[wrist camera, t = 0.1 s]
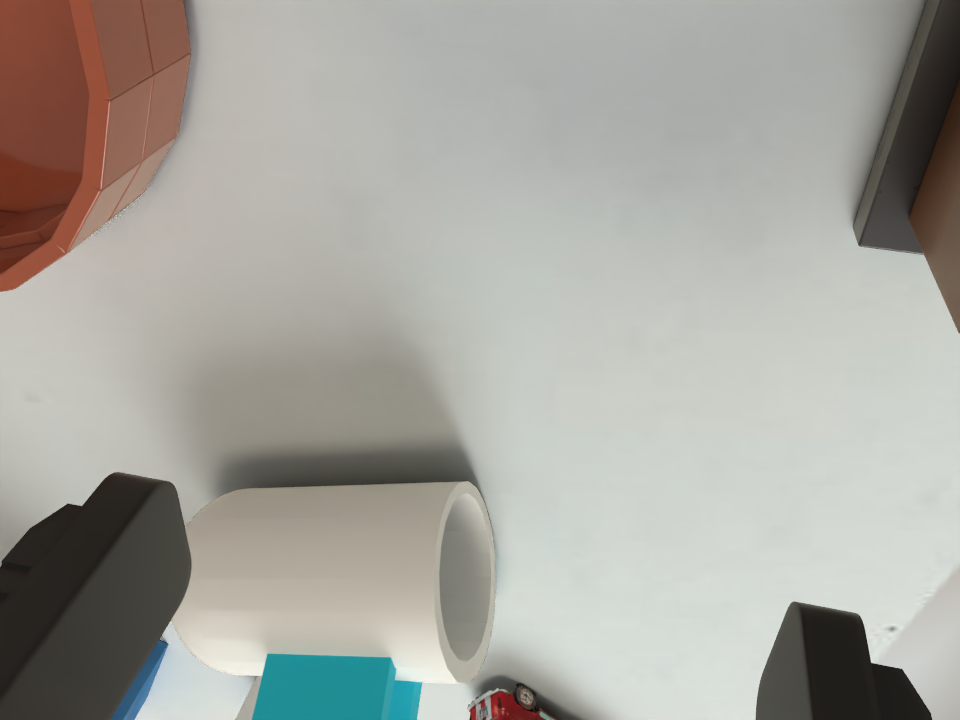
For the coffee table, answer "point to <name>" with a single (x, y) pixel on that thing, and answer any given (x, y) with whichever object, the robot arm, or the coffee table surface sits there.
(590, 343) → the coffee table surface
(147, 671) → the perfume bottle
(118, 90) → the bowl
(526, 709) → the toy car
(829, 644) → the robot arm
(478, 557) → the mug
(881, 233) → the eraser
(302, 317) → the coffee table surface
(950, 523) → the coffee table surface
